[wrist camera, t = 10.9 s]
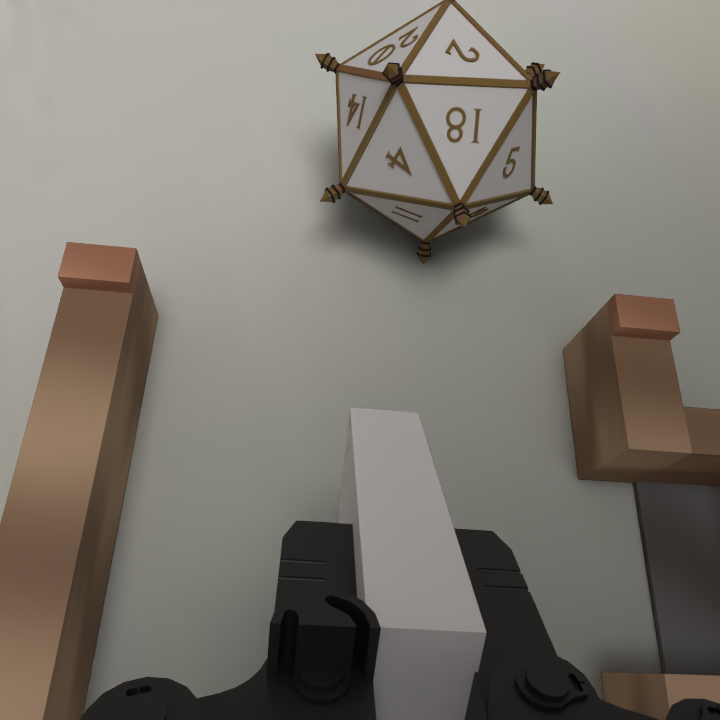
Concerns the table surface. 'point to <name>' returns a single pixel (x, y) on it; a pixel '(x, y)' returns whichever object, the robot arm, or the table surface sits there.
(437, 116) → the game die
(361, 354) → the table surface
